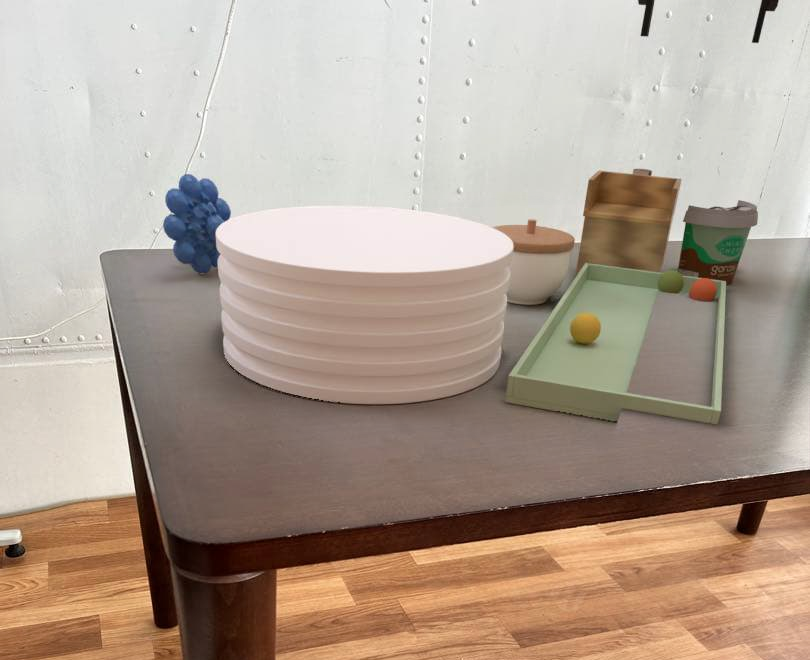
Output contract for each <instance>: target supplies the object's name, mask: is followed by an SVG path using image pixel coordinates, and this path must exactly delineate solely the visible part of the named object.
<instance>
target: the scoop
mask: <svg viewBox="0 0 810 660" xmlns="http://www.w3.org/2000/svg"><path fill="white" fill-rule="evenodd" d="M652 173H653V171H652V170H651V169H646V168H633V169H632V173H629V172H628V173H627V172H616V171H609V170H608V171H607V170H598V171H596V172H595V173H594V174H593V175H592V176H591V177H590V178H589V179H588V181H587V188H586V195H585V201H584V206H583V213H582V217H585V216H587V217H595V218H604V219H612V220H621V221H630V222H638V223H647V224H656V225H664V226H670V224H671V221H672V219H673V220H674V215H675V212H676V207H677V204H678V203H677V202H678V197H679V195H680V194H679V193H680V190H681V189H680V188H681V184H682V178H676V177H675V178H674V177H666V176H657V175H653V174H652ZM672 222H673V221H672Z"/></svg>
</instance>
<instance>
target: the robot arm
mask: <svg viewBox="0 0 810 660" xmlns="http://www.w3.org/2000/svg"><path fill="white" fill-rule="evenodd" d="M655 1H656V0H637V3H638V6H645V8H644V14H643V19H642V25H641V30H640V37H647V38H648V37H649V35H650V30H651V23H652V17H653V14H654V13H653V12H654V7H655ZM779 1H780V0H761V1H760V6H759V10H758V15H757V19H756V22H755V27H754V31H753V35H752V39H751V44H759V42H760V38H761V34H762V30H763V27H764V21H765V17H766V13H767V12H775V11H776V10H777V8H778V5H779Z"/></svg>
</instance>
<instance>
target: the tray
mask: <svg viewBox="0 0 810 660" xmlns="http://www.w3.org/2000/svg"><path fill="white" fill-rule="evenodd" d="M663 273H664V272H661V273H659V272H651V271H644V270H636V269H628V268H621V267H613V266H605V265H598V264H589V263H585V265H584V266H583V268H582V269H581V270H580V272H579V273H578V275H577V276H575V277H574V279H573V281H572V282H571V284H570V285H569V286H568V288H567V289H566V291H565V292H564V294H563V295H562V297H561V298H560V300H559V301H558V302H557V304H556V305H555V307H554V308H553V310H552V311H551V312H550V314H549V315H548V317H547V318H546V320H545V322H544V323H543V324H542V326H541V327H540V329H539V330H538V332H537V333H536V334H535V336H534V338H533V339H532V341H530V343H529V345H528V346H527V348H526V349H525V350H524V352H523V353H522V355H521V357H519V359H518V361H517V362H516V364H515V365H514V367H513V368H512V369H511V371H510V373H509V374H508V375H507V376H508V377H507V384H506V393H505V398H504V399H505V401H504V402H505V403H507V404H513V405H518V406H525V407H529V408H535V409H542V410H547V411H553V412H557V411H560V412H559V413H563V412H566V413H565V414H569V413H572V414H571V415H574V414H575V416H580V415H583V416H582V417H585V416H587V417H586V418H591V417H593V418H592V419H597V418H600V419H599V420H602V419H605V420H604V421H608V420H610V421H609V422H614V421H619V419H620V416H621V412H622V409H626V410H631V411H636V412H641V413H649V414H654V415H659V416H666V417H672V418H678V419H684V420H689V421H695V422H701V423H705V424H711V425H718V424H719V421H720V417H721V414H722V399H723V376H724V375H723V373H724V371H723V370H724V346H725V324H726V323H725V321H726V295H727V285H726V281H721V280H713V279H711V280H712V281H713V282H714V283H715V284H716V287H717V293H716V296H715V298H714V299H717V312H716V313H717V314H716V330H715V345H714V357H713V358H714V359H713V373H712V376H713V377H712V390H711V405H710V406H708V405H703V404H695V403H689V402H684V401H677V400H673V399H666V398H661V397H654V396H649V395H642V394H638V393H637V394H636V393H630V392H628V390H629V387H630V384H631V380H632V378H633V373H634V371H635V368H636V364H637V361H638V358H639V355H640V352H641V349H642V344H643V342H644V338H645V335H646V332H647V330H648V326H649V323H650V319H651V317H652V313H653V309H654V307H655V303H656V301H657V297H658V294H659V291H660V290H659V289H658V280H659V278H660V276H661V275H662V274H663ZM683 279H684V286H683V288H682V290H681V291H680V292H679V294H687V295H690V288H691V286H692V284H693V283H694V282H695V281H696V280H698V279H701V278H698V277H690V276H683ZM582 313H591V314H593V315H595V316H596V317H597V318H598V319H599V321H600V324H601V331H600V334H599V336H598V337H597V339H596V340H595V341H593V342H591V343H588V344H581V343H578V342H576V341H575V340H574V339H573V337H572V336H571V333H570V326H571V323H572V321H573V319H574V318H575V317H576V316H578V315H579V314H582Z"/></svg>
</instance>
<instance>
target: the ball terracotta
mask: <svg viewBox="0 0 810 660" xmlns="http://www.w3.org/2000/svg"><path fill="white" fill-rule="evenodd" d="M716 293H717V287H716V284H715V283H714V282H713V281H712V280H711V279H708V278H701V279H698V280H696V281H695V282H694V283H693V284H692V286H691V288H690V294H689V297H690V298H691V299H692V300H696V301H698V302H699V301H700V302H711V301H713V300H715V299H716V298H715V296H716Z"/></svg>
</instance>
